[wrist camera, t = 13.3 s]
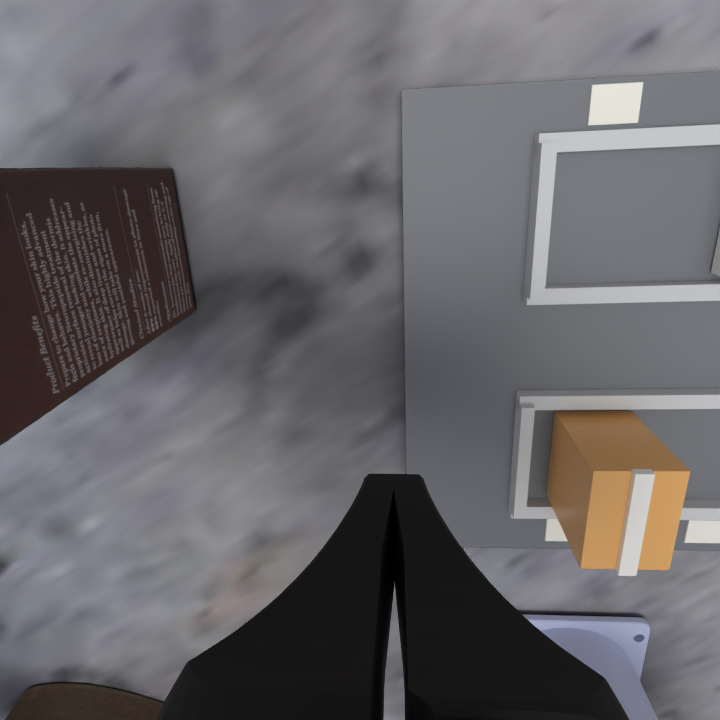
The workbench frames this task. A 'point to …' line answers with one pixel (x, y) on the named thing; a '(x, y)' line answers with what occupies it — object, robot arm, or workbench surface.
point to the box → (82, 279)
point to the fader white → (716, 258)
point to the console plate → (559, 288)
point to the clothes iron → (82, 704)
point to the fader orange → (615, 491)
